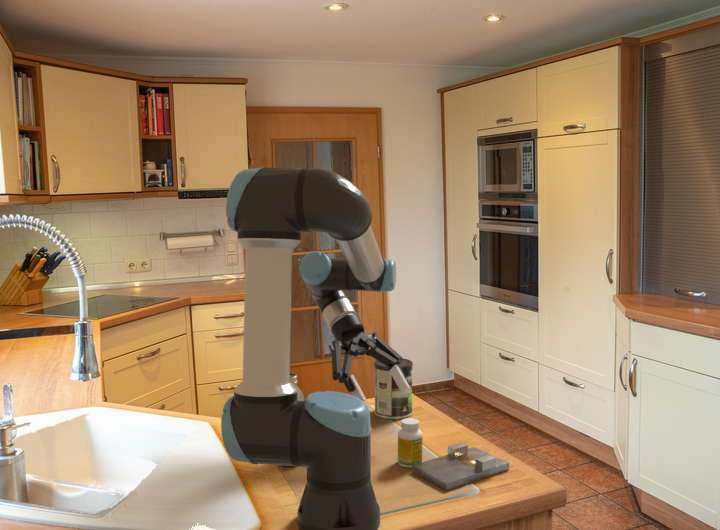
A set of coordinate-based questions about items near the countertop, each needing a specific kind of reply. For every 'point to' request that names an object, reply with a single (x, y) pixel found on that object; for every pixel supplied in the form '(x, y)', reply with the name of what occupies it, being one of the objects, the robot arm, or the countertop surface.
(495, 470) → the hinge plate
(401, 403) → the coffee can
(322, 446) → the robot arm
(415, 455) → the supplement bottle
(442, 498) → the countertop surface
